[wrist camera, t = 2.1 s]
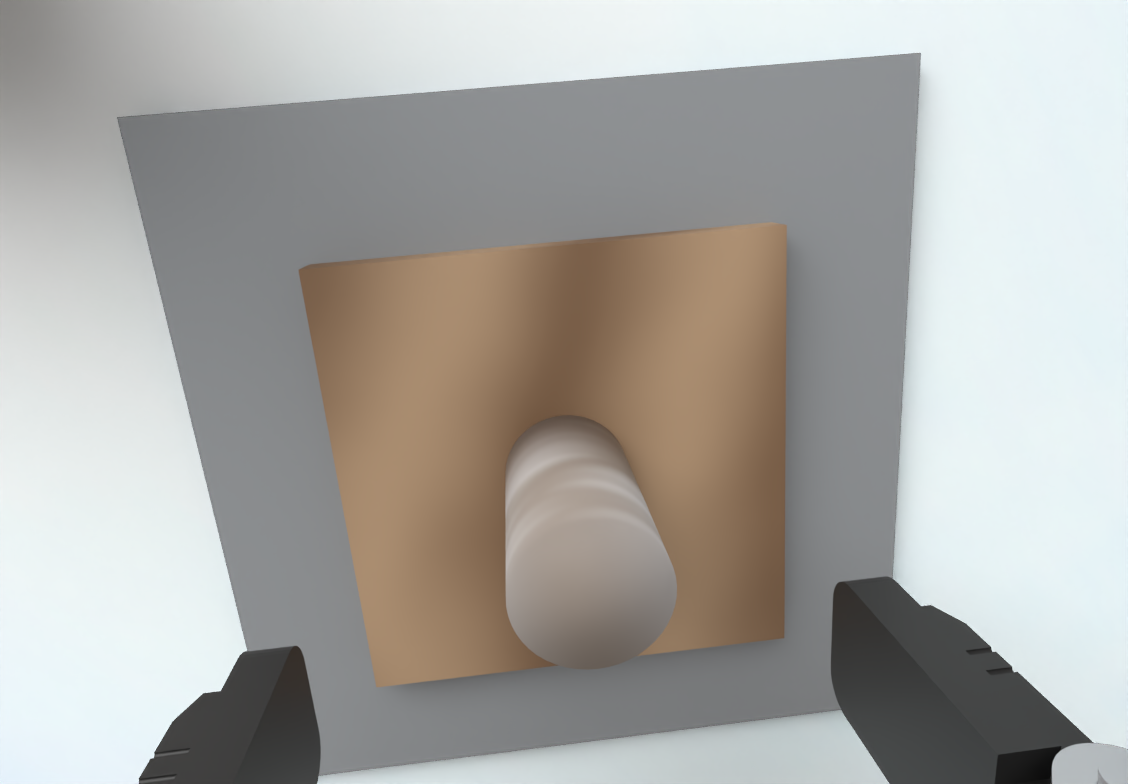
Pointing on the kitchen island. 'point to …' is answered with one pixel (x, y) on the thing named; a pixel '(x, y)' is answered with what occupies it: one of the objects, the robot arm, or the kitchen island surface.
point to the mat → (519, 217)
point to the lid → (559, 447)
